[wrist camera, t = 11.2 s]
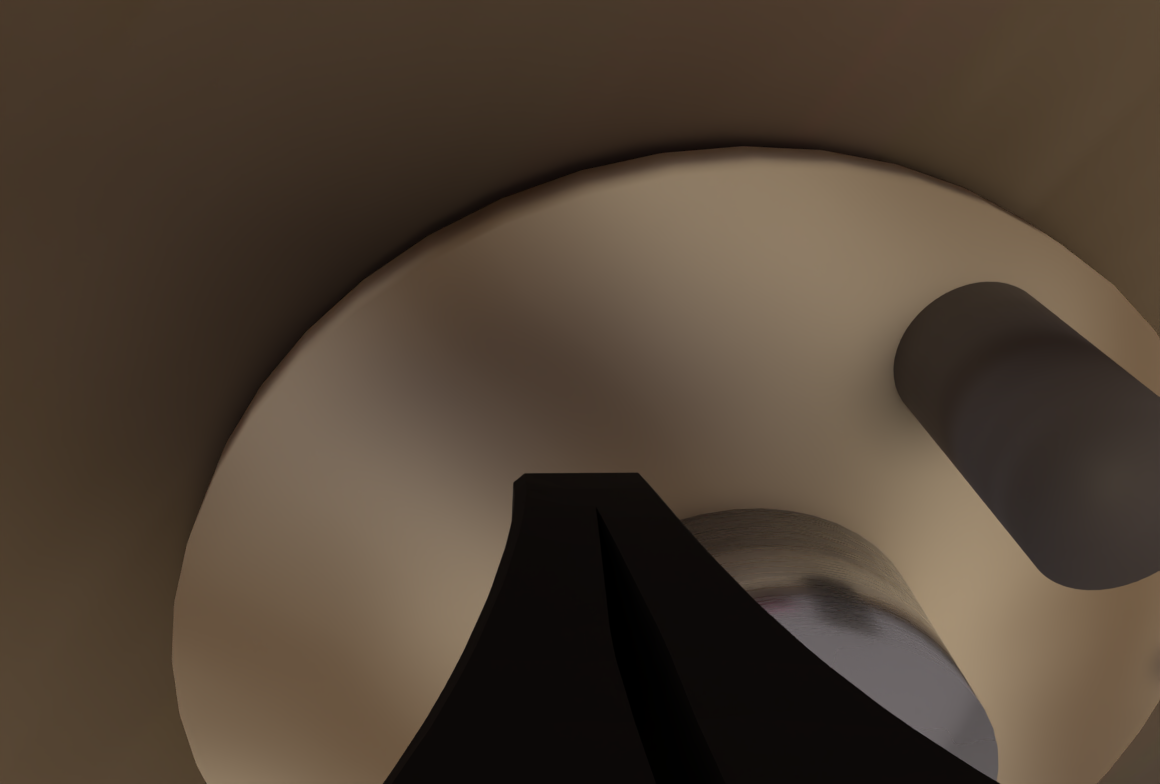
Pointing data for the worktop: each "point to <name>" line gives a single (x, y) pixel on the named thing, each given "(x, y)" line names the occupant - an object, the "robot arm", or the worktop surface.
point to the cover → (852, 619)
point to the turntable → (690, 446)
